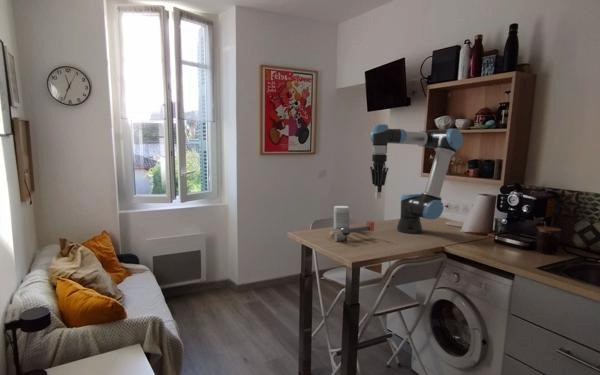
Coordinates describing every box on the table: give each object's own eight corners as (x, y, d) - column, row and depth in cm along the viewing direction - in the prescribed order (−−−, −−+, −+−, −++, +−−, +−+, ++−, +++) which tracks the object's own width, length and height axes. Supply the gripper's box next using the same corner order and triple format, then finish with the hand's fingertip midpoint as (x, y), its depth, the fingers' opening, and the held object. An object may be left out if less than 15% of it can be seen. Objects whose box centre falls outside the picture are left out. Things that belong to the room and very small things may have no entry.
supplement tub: (352, 230, 216) (352, 207, 214) (340, 232, 210) (340, 208, 209) (341, 227, 224) (342, 204, 222) (330, 229, 218) (330, 206, 217)
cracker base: (357, 235, 203) (357, 233, 203) (383, 243, 187) (383, 241, 186) (326, 241, 191) (326, 238, 191) (350, 250, 174) (350, 247, 174)
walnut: (334, 236, 195) (335, 230, 195) (340, 238, 191) (341, 232, 191) (328, 237, 193) (328, 231, 192) (333, 239, 189) (334, 233, 188)
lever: (369, 234, 198) (369, 220, 197) (374, 237, 194) (375, 222, 193) (333, 239, 187) (333, 224, 186) (338, 242, 183) (338, 226, 182)
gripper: (366, 153, 188) (364, 196, 191) (381, 154, 177) (379, 200, 179) (377, 153, 191) (376, 196, 194) (393, 154, 180) (391, 199, 182)
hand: (377, 198), depth 187 cm, fingers closed
